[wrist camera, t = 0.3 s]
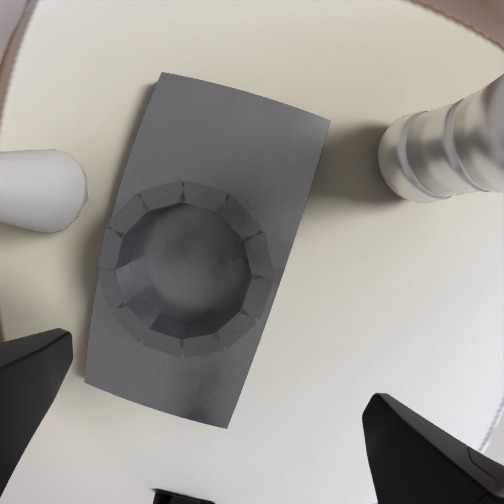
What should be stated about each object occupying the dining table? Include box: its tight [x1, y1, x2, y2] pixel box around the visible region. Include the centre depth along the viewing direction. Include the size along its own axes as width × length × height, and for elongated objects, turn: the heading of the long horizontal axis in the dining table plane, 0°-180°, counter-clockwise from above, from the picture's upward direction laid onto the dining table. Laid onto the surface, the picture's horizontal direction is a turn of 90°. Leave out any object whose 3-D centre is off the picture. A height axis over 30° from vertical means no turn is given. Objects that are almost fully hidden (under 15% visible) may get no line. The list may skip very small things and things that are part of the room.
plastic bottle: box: [378, 74, 504, 203], centre depth 11 cm, size 6×7×20 cm
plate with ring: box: [85, 72, 330, 429], centre depth 19 cm, size 24×12×4 cm, turn 162°
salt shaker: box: [0, 150, 88, 233], centre depth 14 cm, size 6×6×13 cm
